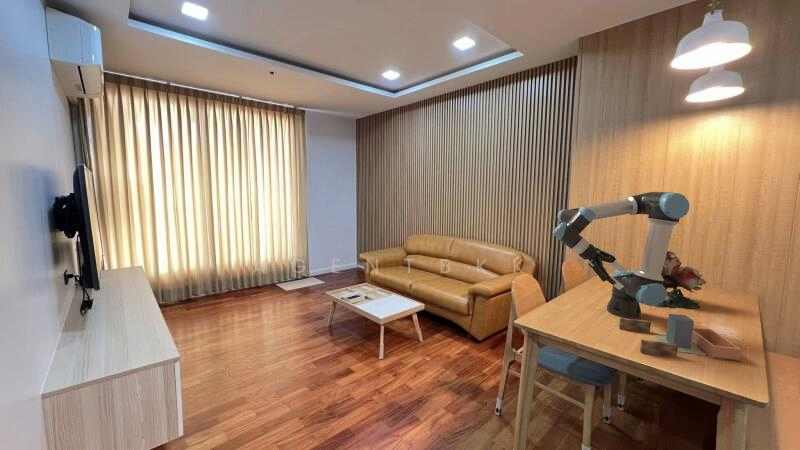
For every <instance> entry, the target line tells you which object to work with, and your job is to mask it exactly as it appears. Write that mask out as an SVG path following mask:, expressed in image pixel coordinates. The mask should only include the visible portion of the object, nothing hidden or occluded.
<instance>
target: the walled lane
mask: <svg viewBox="0 0 800 450" xmlns="http://www.w3.org/2000/svg"><path fill="white" fill-rule="evenodd" d="M651 324H652V322H651V321H650V320H643V319H636V318H626V317H619V323H618V325H619V326H618V329H619V330H623V331H631V332H643V333H651V326H652V325H651ZM639 352H640V353H641V354H647V355H653V356H663V357H671V358H678V353H679V352H678V345H677V344H675V343H666V342H660V341H658V340H657V341H654V340H648V339H640V349H639Z"/></svg>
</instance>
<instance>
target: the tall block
mask: <svg viewBox="0 0 800 450" xmlns="http://www.w3.org/2000/svg"><path fill="white" fill-rule="evenodd" d="M694 323H695V320H694V319H692V318H690V317H689V316H687V315H686V314H685V315H684V314H678V313H677V314H675V313H668V319H667V327H666V335H665V336H666V340H667V341H668V342H669V343H675V344H677V345H678V347H682V348H690V349H691V343H692V342H691V341H692V333H693V328H694Z"/></svg>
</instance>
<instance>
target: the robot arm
mask: <svg viewBox="0 0 800 450" xmlns="http://www.w3.org/2000/svg"><path fill="white" fill-rule="evenodd" d="M689 211H690V202H689V199H688V198H687V197H686V196H685V195H684V194H682V193H679V192H674V191H672V192H671V191H650V192H644V193H639V194H635V195H632V196H627V197H625V199H620V200H614V201H610V202H609V201H608V202H603V203H599V204H597V203H596V204H592V205H587V206H582V207H577V208H571V209H569V208H565V209H560V210H559V212H558V213H557V219H558V221H559V222H560V223H559V224H558V225H557V226H556V227H555V228H554V230H553V231H552V234H553V236H554V237H555V238H556V239H558V240H559V241H560V242H562V244H563V245H565V246H566V247H568V248H569V249H570V250H571V251H572V252H574V253H575V254H577V255H578V256H579V257H580V258H581V259H583V260H584V261H586V260H588V261H589V262H588V263H587V264H588V266H589V267H590V268H591V269H592V270H593V271H594V273H595V274H596V275H597V277H599V279H600V280H601V281H602V282H606V281H607V282H608V283H609V284H611V285H612V293H611V297H610V299H609V300H608V303H607V305H606V311H607V312H608V313H610V314H612V315H614V316H618V317H620V318H625V319H638V318H641V317H642V309H641V306H640V304H641V305H645V306H648V307H655V306H656V305H658V304H660V303H662V302H663V301H664V300H665V298H666V296H667V292H668V289H667V290H666V289H665V287H664V286H663V282H664V279H663V278H662V277H661V273H662V269H663V265H664V261H665V257H666V253H667V251H668V250H669V245H670V240H671V237H672V233H673V229H674V226H676V225H678V224H679V222H680V219H682V218H684V217H685V216H686V215H687V214H688V213H689ZM623 215H624V216H625V215H630V216H635V215H645V216H646V215H647V220H648V221H649V222H650V224H649V228H648V232H647V236H646V239H645V244H644V248H643V252H642V256H641V260H640V264H639V269H638V270H631V269H627V268H626V267H624V266H623V265H622V264H620V263H619V262H618V261H617V258H616V257H615V256H614V255H613V254H611V253H608V252H607V251H604V250H602V249H600V248H598V247H596V246H594V244H592V243H590V242H589V241H588V240H587V239H586V238H584V237H583V236H582V235H580V234H581V233H582V232H583V231H584V230H585V229H586V228H587V227H588V225H590V224H591V223H592V222H593V221H595V220H601V219H606V218H607V219H608V218H612V217H618V216H623ZM603 262H606V263H609V264H610V266H611V267H613V268H614V269H616V270H614V271H613V276H612V275H610V274H609V272H607V270H606V268H605V267H604V263H603Z"/></svg>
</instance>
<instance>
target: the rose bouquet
mask: <svg viewBox="0 0 800 450" xmlns="http://www.w3.org/2000/svg"><path fill="white" fill-rule="evenodd" d="M682 264H683V263H682V262H681V260H680V258H678V256H677V254H676V252H675V251H673V250H667V253H666V257H665V261H664V265H663V269H662V273H661V277H662V278H663V279H664V282H663V286H664V287H665V289H666V290H667V296H666V298H665V300H664V301H663V302H662V303H660V304H658V305H656V306H654V308H655V307H656V308H661V309H683V308H686V309H694V308H700V303H699V302H697V301H695V300H694V299H691V298H689V297H687V296H684V293H683V292H682V290H681V288H683V289H685V290H686V291H688V292H690V293H694V294H696V295H698V293H696V292H695V291H701V290H702V286H703V285H706V284H707V281H706V280H705V279H703V278H702V277H704V275H702V274H700V272H699V271H698V269H696V268H693V266H684V267H683V266H682ZM668 289H672V290H671V291H668ZM692 290H693V291H692Z"/></svg>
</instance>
